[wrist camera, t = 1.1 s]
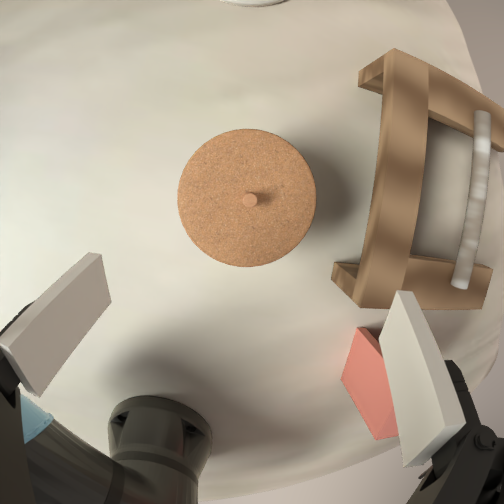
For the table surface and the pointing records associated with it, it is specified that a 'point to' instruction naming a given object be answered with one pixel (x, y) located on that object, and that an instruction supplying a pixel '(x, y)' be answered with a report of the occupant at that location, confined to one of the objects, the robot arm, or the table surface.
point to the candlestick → (251, 2)
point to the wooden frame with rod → (410, 184)
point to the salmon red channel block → (370, 385)
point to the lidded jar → (246, 197)
